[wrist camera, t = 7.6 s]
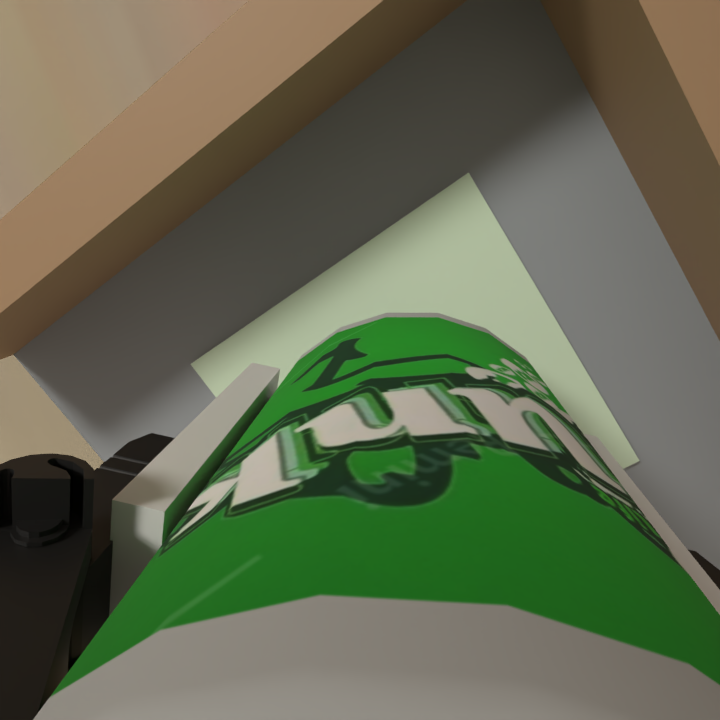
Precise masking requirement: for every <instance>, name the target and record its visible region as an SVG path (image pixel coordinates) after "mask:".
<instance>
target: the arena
mask: <svg viewBox="0 0 720 720" xmlns="http://www.w3.org/2000/svg"><path fill="white" fill-rule="evenodd" d="M467 173H469V174H470V176H471V177H472V179H473V181H474V183H475V184H476V186H477V188H478V189H479V191H480V193H481V194H482V196H483V198H484V199H485V201H486V203H487V204H488V206H489V208H490V210H491V211H492V213H493V215H494V216H495V218H496V220H497V221H498V223H499V225H500V226H501V228H502V230H503V231H504V233H505V235H506V236H507V238H508V240H509V242H510V243H511V245H512V247H513V248H514V250H515V252H516V253H517V255H518V257H519V258H520V260H521V262H522V263H523V265H524V267H525V269H526V270H527V272H528V274H529V275H530V277H531V279H532V280H533V282H534V284H535V285H536V287H537V289H538V290H539V292H540V294H541V295H542V297H543V299H544V301H545V302H546V304H547V306H548V307H549V309H550V311H551V312H552V314H553V316H554V317H555V319H556V321H557V322H558V324H559V326H560V327H561V329H562V331H563V333H564V334H565V336H566V338H567V339H568V341H569V343H570V344H571V346H572V348H573V349H574V351H575V353H576V354H577V356H578V358H579V360H580V361H581V363H582V365H583V366H584V368H585V370H586V371H587V373H588V375H589V376H590V378H591V380H592V381H593V383H594V385H595V386H596V388H597V390H598V392H599V393H600V395H601V397H602V398H603V400H604V402H605V403H606V405H607V407H608V408H609V410H610V412H611V413H612V415H613V417H614V418H615V420H616V422H617V424H618V425H619V427H620V429H621V430H622V432H623V434H624V435H625V437H626V439H627V440H628V442H629V444H630V445H631V447H632V449H633V451H634V452H635V454H636V456H637V457H638V459H639V461H638V462H636V463H634V464H632V465H630V466H628V467H626V468H624V469H623V470H624V471H625V472H626V473H627V475H628V476H629V477H630V478H631V480H632V481H633V482H634V483H635V485H636V486H637V487H638V488H639V490H640V491H641V492H642V493H643V495H644V496H645V497H646V498H647V500H648V501H649V502H650V503H651V505H652V506H653V507H654V508H655V510H656V511H657V512H658V513H659V515H660V516H661V517H662V518H663V520H664V521H665V522H666V523H667V525H668V526H669V527H670V528H671V530H672V531H673V532H674V533H675V535H676V536H677V537H678V538H679V540H680V541H681V542H682V543H683V545H684V546H685V547H686V548H687V549H688V550H692V551H696V552H697V553H699V554H700V555H701V556H702V557H704V558H705V559H706V560H708V561H709V562H710V563H711V564H713V565H714V566H715V567H716V568H718V569H719V570H720V0H249V1H248V2H246V3H245V4H244V5H243V6H242V7H241V8H240V9H239V10H237V11H236V12H235V13H234V14H233V15H232V16H231V17H229V18H228V19H227V20H226V21H225V22H224V23H223V24H222V25H220V26H219V27H218V28H217V29H216V30H215V31H214V32H212V33H211V34H210V35H209V36H208V37H207V38H206V39H205V40H203V41H202V42H201V43H200V44H199V45H198V46H197V47H195V48H194V49H193V50H192V51H191V52H190V53H189V54H188V55H186V56H185V57H184V58H183V59H182V60H181V61H180V62H178V63H177V64H176V65H175V66H174V67H173V68H172V69H171V70H169V71H168V72H167V73H166V74H165V75H164V76H163V77H162V78H160V79H159V80H158V81H157V82H156V83H155V84H154V85H152V86H151V87H150V88H149V89H148V90H147V91H146V92H145V93H143V94H142V95H141V96H140V97H139V98H138V99H137V100H135V101H134V102H133V103H132V104H131V105H130V106H129V107H128V108H126V109H125V110H124V111H123V112H122V113H121V114H120V115H118V116H117V117H116V118H115V119H114V120H113V121H112V122H111V123H109V124H108V125H107V126H106V127H105V128H104V129H103V130H101V131H100V132H99V133H98V134H97V135H96V136H95V137H94V138H92V139H91V140H90V141H89V142H88V143H87V144H86V145H84V146H83V147H82V148H81V149H80V150H79V151H78V152H77V153H75V154H74V155H73V156H72V157H71V158H70V159H69V160H67V161H66V162H65V163H64V164H63V165H62V166H61V167H60V168H58V169H57V170H56V171H55V172H54V173H53V174H52V175H50V176H49V177H48V178H47V179H46V180H45V181H44V182H43V183H41V184H40V185H39V186H38V187H37V188H36V189H35V190H34V191H32V192H31V193H30V194H29V195H28V196H27V197H26V198H24V199H23V200H22V201H21V202H20V203H19V204H18V205H17V206H15V207H14V208H13V209H12V210H11V211H10V212H9V213H7V214H6V215H5V216H4V217H3V218H2V219H1V220H0V359H3V358H5V357H8V356H11V355H14V356H15V357H16V358H17V359H18V361H19V362H20V363H21V364H22V365H23V366H24V368H25V369H26V370H27V371H28V372H29V374H30V375H31V376H32V377H33V378H34V380H35V381H36V382H37V383H38V384H39V385H40V387H41V388H42V389H43V390H44V391H45V393H46V394H47V395H48V396H49V397H50V398H51V400H52V401H53V402H54V403H55V404H56V406H57V407H58V408H59V409H60V410H61V411H62V413H63V414H64V415H65V416H66V417H67V419H68V420H69V421H70V422H71V423H72V425H73V426H74V427H75V428H76V429H77V430H78V432H79V433H80V434H81V435H82V436H83V438H84V439H85V440H86V441H87V442H88V443H89V445H90V446H91V447H92V448H93V449H94V451H95V452H96V453H97V454H98V455H99V457H100V458H101V459H102V460H103V461H104V462H105V461H106V460H108V459H109V458H110V457H113V455H114V454H115V453H116V452H117V451H118V450H120V449H121V448H122V447H123V446H124V445H126V444H127V443H128V442H129V441H132V440H135V439H137V438H140V437H142V436H145V435H147V434H150V433H154V434H159V435H164V436H168V437H173V438H176V437H177V436H178V435H179V434H180V433H181V432H182V431H183V430H184V429H185V428H186V427H187V426H188V425H189V424H190V423H191V422H192V421H193V420H194V419H195V418H196V417H197V416H198V415H199V414H200V413H201V412H202V411H203V410H204V409H205V408H206V407H207V406H208V405H209V404H210V403H211V402H212V401H213V400H214V399H215V398H216V397H215V396H214V394H213V393H212V392H211V390H210V389H209V388H208V386H207V385H206V384H205V383H204V381H203V380H202V379H201V377H200V376H199V375H198V373H197V372H196V371H195V369H194V368H193V367H192V366H191V363H193V362H194V361H196V360H197V359H199V358H200V357H201V356H203V355H204V354H206V353H207V352H209V351H210V350H212V349H213V348H215V347H216V346H217V345H219V344H220V343H222V342H223V341H225V340H226V339H228V338H229V337H230V336H232V335H233V334H235V333H236V332H238V331H239V330H241V329H242V328H244V327H245V326H246V325H248V324H249V323H251V322H252V321H254V320H255V319H257V318H258V317H260V316H261V315H262V314H264V313H265V312H267V311H268V310H270V309H271V308H273V307H274V306H276V305H277V304H278V303H280V302H281V301H283V300H284V299H286V298H287V297H289V296H290V295H291V294H293V293H294V292H296V291H297V290H299V289H300V288H302V287H303V286H305V285H306V284H307V283H309V282H310V281H312V280H313V279H315V278H316V277H318V276H319V275H321V274H322V273H323V272H325V271H326V270H328V269H329V268H331V267H332V266H334V265H335V264H336V263H338V262H339V261H341V260H342V259H344V258H345V257H347V256H348V255H350V254H351V253H352V252H354V251H355V250H357V249H358V248H360V247H361V246H363V245H364V244H366V243H367V242H368V241H370V240H371V239H373V238H374V237H376V236H377V235H379V234H380V233H382V232H383V231H384V230H386V229H387V228H389V227H390V226H392V225H393V224H395V223H396V222H397V221H399V220H400V219H402V218H403V217H405V216H406V215H408V214H409V213H411V212H412V211H413V210H415V209H416V208H418V207H419V206H421V205H422V204H424V203H425V202H427V201H428V200H429V199H431V198H432V197H434V196H435V195H437V194H438V193H440V192H441V191H442V190H444V189H445V188H447V187H448V186H450V185H451V184H453V183H454V182H456V181H457V180H458V179H460V178H461V177H463V176H464V175H466V174H467Z"/></svg>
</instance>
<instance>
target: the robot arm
mask: <svg viewBox="0 0 720 720" xmlns="http://www.w3.org/2000/svg"><path fill="white" fill-rule="evenodd" d="M279 373H280V369H279V368H275V367H270V366H265V365H261V364H256V363H251V364H250V365H249V366H248V367H247V368H246V369H245V370H244V371H243V372H242V373H241V374H240V375H239V376H238V377H237V378H236V379H235V380H234V381H233V382H232V383H231V384H230V385H229V386H228V387H227V388H226V389H225V390H224V391H223V392H222V393H221V394H220V395H218V396H217V397H216V398H215V399H214V400H213V401H212V402H211V403H210V404H209V405H208V406H207V407H206V408H205V409H204V410H203V411H202V412H201V413H200V414H199V415H198V416H197V417H196V418H195V419H194V420H193V421H192V422H191V423H190V424H189V425H188V426H187V427H186V428H185V429H184V430H183V431H182V432H181V433H180V434H179V435H178V436H177V437H176V438H173V437H168V436H164V435H159V434H154V433H150V434H147V435H145V436H142V437H140V438H137V439H135V440H132V441H129V442H128V443H127V444H126V445H124V446H123V447H122V448H121V449H120V450H118V451H117V452H116V453H115V454H114V455H113V457H110V458H109V459H108V460H106V461H105V462H104V463H103V464H102V465H101V466H100V468H97V469H96V470H94V469H93V468H92V467H91V466H90V465H89V464H88V463H87V462H86V461H84V460H81V459H78V458H76V457H73V456H69V455H61V454H38V455H29V456H25V457H20V458H16V459H12V460H9V461H7V462H5V463H3V464H0V720H33V719H34V718H35V716H36V715H37V714H38V712H39V711H40V710H41V708H42V707H43V706H44V704H45V703H46V701H47V700H48V699H49V697H50V696H51V695H52V693H53V692H54V691H55V689H56V688H57V687H58V685H59V684H60V682H61V681H62V680H63V678H64V677H65V676H66V674H67V673H68V672H69V670H70V669H71V668H72V666H73V665H74V663H75V662H76V661H77V659H78V658H79V657H80V655H81V654H82V653H83V651H84V650H85V649H86V647H87V646H88V645H89V643H90V642H91V640H92V639H93V638H94V636H95V635H96V634H97V632H98V631H99V630H100V628H101V627H102V626H103V624H104V623H105V621H106V620H107V619H108V617H109V616H110V615H111V613H112V612H113V611H114V609H115V608H116V607H117V605H118V604H119V602H120V601H121V600H122V598H123V597H124V596H125V594H126V593H127V592H128V590H129V589H130V588H131V586H132V585H133V583H134V582H135V581H136V579H137V578H138V577H139V575H140V574H141V573H142V571H143V570H144V569H145V567H146V566H147V564H148V563H149V562H150V560H151V559H152V558H153V556H154V555H155V554H156V552H157V551H158V550H159V548H160V547H161V546H162V544H163V543H164V541H165V540H166V539H167V537H168V536H169V535H170V533H171V532H172V531H173V529H174V528H175V527H176V525H177V524H178V522H179V521H180V520H181V518H182V517H183V516H184V514H185V513H186V512H187V510H188V509H189V508H190V506H191V505H192V503H193V502H194V501H195V499H196V498H197V497H198V495H199V494H200V493H201V491H202V490H203V489H204V487H205V486H206V484H207V483H208V482H209V480H210V479H211V478H212V476H213V475H214V474H215V472H216V471H217V470H218V468H219V467H220V466H221V464H222V463H223V461H224V460H225V459H226V457H227V456H228V455H229V453H230V452H231V451H232V449H233V448H234V447H235V445H236V444H237V442H238V441H239V440H240V438H241V437H242V436H243V434H244V433H245V432H246V430H247V429H248V428H249V426H250V425H251V423H252V422H253V421H254V419H255V418H256V417H257V415H258V414H259V413H260V411H261V410H262V409H263V407H264V406H265V404H266V403H267V402H268V400H269V399H270V398H271V396H272V395H273V394H274V392H275V391H276V390H277V387H278V380H279ZM584 435H585V437H586V438H587V439H588V441H589V442H590V443H591V445H592V446H593V447H594V449H595V450H596V451H597V453H598V454H599V455H600V457H601V458H602V459H603V461H604V462H605V463H606V465H607V466H608V467H609V469H610V470H611V471H612V473H613V474H614V475H615V477H616V478H617V479H618V481H619V482H620V483H621V485H622V486H623V487H624V488H625V490H626V491H627V492H628V494H629V495H630V496H631V498H632V499H633V500H634V502H635V503H636V504H637V506H638V507H639V508H640V510H641V511H642V512H643V514H644V515H645V516H646V518H647V519H648V520H649V522H650V523H651V524H652V526H653V527H654V528H655V530H656V531H657V532H658V534H659V535H660V536H661V538H662V539H663V540H664V542H665V543H666V544H667V546H668V547H669V548H670V550H671V551H672V552H673V554H674V555H675V556H676V557H677V559H678V560H679V561H680V563H681V564H682V565H683V567H684V568H685V569H686V571H687V572H688V573H689V575H690V576H691V577H692V579H693V580H694V581H695V583H696V584H697V585H698V587H699V588H700V589H701V591H702V592H703V593H704V595H705V596H706V597H707V599H708V600H709V601H710V603H711V604H712V605H713V607H714V608H715V609H716V611H717V612H718V613H719V615H720V570H719V569H718V568H716V567H715V566H714V565H713V564H711V563H710V562H709V561H708V560H706V559H705V558H704V557H702V556H701V555H700V554H699V553H697V552H696V551H692V550H688V549H687V548H686V547H685V546H684V545H683V543H682V542H681V541H680V540H679V538H678V537H677V536H676V535H675V533H674V532H673V531H672V530H671V528H670V527H669V526H668V525H667V523H666V522H665V521H664V520H663V518H662V517H661V516H660V515H659V513H658V512H657V511H656V510H655V508H654V507H653V506H652V505H651V503H650V502H649V501H648V500H647V498H646V497H645V496H644V495H643V493H642V492H641V491H640V490H639V488H638V487H637V486H636V485H635V483H634V482H633V481H632V480H631V478H630V477H629V476H628V475H627V473H626V472H625V471H624V470H623V468H622V467H621V466H620V465H619V463H618V462H617V461H616V460H615V458H614V457H613V456H612V455H611V453H610V452H609V451H608V450H607V448H606V447H605V446H604V445H603V443H602V442H601V441H600V440H599V438H598V437H597V436H592V435H588V434H584Z"/></svg>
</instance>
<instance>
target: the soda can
mask: <svg viewBox="0 0 720 720" xmlns="http://www.w3.org/2000/svg"><path fill="white" fill-rule="evenodd" d="M33 720H720V615H719V613H718V612H717V611H716V609H715V608H714V607H713V605H712V604H711V603H710V601H709V600H708V599H707V597H706V596H705V595H704V593H703V592H702V591H701V589H700V588H699V587H698V585H697V584H696V583H695V581H694V580H693V579H692V577H691V576H690V575H689V573H688V572H687V571H686V569H685V568H684V567H683V565H682V564H681V563H680V561H679V560H678V559H677V557H676V556H675V555H674V554H673V552H672V551H671V550H670V548H669V547H668V546H667V544H666V543H665V542H664V540H663V539H662V538H661V536H660V535H659V534H658V532H657V531H656V530H655V528H654V527H653V526H652V524H651V523H650V522H649V520H648V519H647V518H646V516H645V515H644V514H643V512H642V511H641V510H640V508H639V507H638V506H637V504H636V503H635V502H634V500H633V499H632V498H631V496H630V495H629V494H628V492H627V491H626V490H625V488H624V487H623V486H622V485H621V483H620V482H619V481H618V479H617V478H616V477H615V475H614V474H613V473H612V471H611V470H610V469H609V467H608V466H607V465H606V463H605V462H604V461H603V459H602V458H601V457H600V455H599V454H598V453H597V451H596V450H595V449H594V447H593V446H592V445H591V443H590V442H589V441H588V439H587V438H586V437H585V435H584V434H583V433H582V431H581V430H580V429H579V427H578V426H577V425H576V423H575V422H574V421H573V419H572V418H571V417H570V415H569V414H568V413H567V412H566V410H565V409H564V408H563V406H562V405H561V404H560V402H559V401H558V400H557V398H556V397H555V396H554V394H553V393H552V392H551V390H550V389H549V388H548V386H547V385H546V384H545V382H544V381H543V380H542V378H541V377H540V376H539V374H538V373H537V372H536V370H535V369H534V368H533V366H532V365H531V364H530V362H529V361H528V360H527V358H526V357H525V356H523V355H522V354H520V353H519V352H518V351H516V350H515V349H514V348H512V347H511V346H509V345H508V344H507V343H505V342H504V341H503V340H501V339H500V338H498V337H497V336H496V335H494V334H493V333H492V332H490V331H489V330H487V329H486V328H483V327H480V326H477V325H474V324H471V323H468V322H465V321H462V320H458V319H455V318H452V317H449V316H446V315H443V314H440V313H384V314H381V315H378V316H375V317H371V318H368V319H365V320H362V321H359V322H356V323H353V324H350V325H346V326H343V327H340V328H339V329H337V330H336V331H334V332H333V333H332V334H330V335H329V336H328V337H326V338H325V339H323V340H322V341H321V342H319V343H318V344H317V345H315V346H314V347H312V348H311V349H310V350H308V351H307V352H306V353H304V354H303V355H302V356H301V357H300V358H299V360H298V361H297V362H296V364H295V365H294V367H293V368H292V369H291V371H290V372H289V373H288V375H287V376H286V377H285V379H284V380H283V381H282V383H281V384H280V386H279V387H278V388H277V390H276V391H275V392H274V394H273V395H272V396H271V398H270V399H269V400H268V402H267V403H266V404H265V406H264V407H263V409H262V410H261V411H260V413H259V414H258V415H257V417H256V418H255V419H254V421H253V422H252V423H251V425H250V426H249V428H248V429H247V430H246V432H245V433H244V434H243V436H242V437H241V438H240V440H239V441H238V442H237V444H236V445H235V447H234V448H233V449H232V451H231V452H230V453H229V455H228V456H227V457H226V459H225V460H224V461H223V463H222V464H221V466H220V467H219V468H218V470H217V471H216V472H215V474H214V475H213V476H212V478H211V479H210V480H209V482H208V483H207V484H206V486H205V487H204V489H203V490H202V491H201V493H200V494H199V495H198V497H197V498H196V499H195V501H194V502H193V503H192V505H191V506H190V508H189V509H188V510H187V512H186V513H185V514H184V516H183V517H182V518H181V520H180V521H179V522H178V524H177V525H176V527H175V528H174V529H173V531H172V532H171V533H170V535H169V536H168V537H167V539H166V540H165V541H164V543H163V544H162V546H161V547H160V548H159V550H158V551H157V552H156V554H155V555H154V556H153V558H152V559H151V560H150V562H149V563H148V564H147V566H146V567H145V569H144V570H143V571H142V573H141V574H140V575H139V577H138V578H137V579H136V581H135V582H134V583H133V585H132V586H131V588H130V589H129V590H128V592H127V593H126V594H125V596H124V597H123V598H122V600H121V601H120V602H119V604H118V605H117V607H116V608H115V609H114V611H113V612H112V613H111V615H110V616H109V617H108V619H107V620H106V621H105V623H104V624H103V626H102V627H101V628H100V630H99V631H98V632H97V634H96V635H95V636H94V638H93V639H92V640H91V642H90V643H89V645H88V646H87V647H86V649H85V650H84V651H83V653H82V654H81V655H80V657H79V658H78V659H77V661H76V662H75V663H74V665H73V666H72V668H71V669H70V670H69V672H68V673H67V674H66V676H65V677H64V678H63V680H62V681H61V682H60V684H59V685H58V687H57V688H56V689H55V691H54V692H53V693H52V695H51V696H50V697H49V699H48V700H47V701H46V703H45V704H44V706H43V707H42V708H41V710H40V711H39V712H38V714H37V715H36V716H35V718H34V719H33Z"/></svg>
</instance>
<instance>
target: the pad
mask: <svg viewBox="0 0 720 720" xmlns="http://www.w3.org/2000/svg"><path fill="white" fill-rule="evenodd" d="M384 313H440V314H443V315H446V316H449V317H452V318H455V319H458V320H462V321H465V322H468V323H471V324H474V325H477V326H480V327H483V328H486V329H487V330H489V331H490V332H492V333H493V334H494V335H496V336H497V337H498V338H500V339H501V340H503V341H504V342H505V343H507V344H508V345H509V346H511V347H512V348H514V349H515V350H516V351H518V352H519V353H520V354H522V355H523V356H525V357H526V358H527V360H528V361H529V362H530V364H531V365H532V366H533V368H534V369H535V370H536V372H537V373H538V374H539V376H540V377H541V378H542V380H543V381H544V382H545V384H546V385H547V386H548V388H549V389H550V390H551V392H552V393H553V394H554V396H555V397H556V398H557V400H558V401H559V402H560V404H561V405H562V406H563V408H564V409H565V410H566V412H567V413H568V414H569V415H570V417H571V418H572V419H573V421H574V422H575V423H576V425H577V426H578V427H579V429H580V430H581V431H582V433H583V434H588V435H592V436H597V437H598V438H599V440H600V441H601V442H602V443H603V445H604V446H605V447H606V448H607V450H608V451H609V452H610V453H611V455H612V456H613V457H614V458H615V460H616V461H617V462H618V463H619V465H620V466H621V467H622V468H623V469H624V468H626V467H628V466H630V465H632V464H634V463H636V462H638V461H639V459H638V457H637V456H636V454H635V452H634V451H633V449H632V447H631V445H630V444H629V442H628V440H627V439H626V437H625V435H624V434H623V432H622V430H621V429H620V427H619V425H618V424H617V422H616V420H615V418H614V417H613V415H612V413H611V412H610V410H609V408H608V407H607V405H606V403H605V402H604V400H603V398H602V397H601V395H600V393H599V392H598V390H597V388H596V386H595V385H594V383H593V381H592V380H591V378H590V376H589V375H588V373H587V371H586V370H585V368H584V366H583V365H582V363H581V361H580V360H579V358H578V356H577V354H576V353H575V351H574V349H573V348H572V346H571V344H570V343H569V341H568V339H567V338H566V336H565V334H564V333H563V331H562V329H561V327H560V326H559V324H558V322H557V321H556V319H555V317H554V316H553V314H552V312H551V311H550V309H549V307H548V306H547V304H546V302H545V301H544V299H543V297H542V295H541V294H540V292H539V290H538V289H537V287H536V285H535V284H534V282H533V280H532V279H531V277H530V275H529V274H528V272H527V270H526V269H525V267H524V265H523V263H522V262H521V260H520V258H519V257H518V255H517V253H516V252H515V250H514V248H513V247H512V245H511V243H510V242H509V240H508V238H507V236H506V235H505V233H504V231H503V230H502V228H501V226H500V225H499V223H498V221H497V220H496V218H495V216H494V215H493V213H492V211H491V210H490V208H489V206H488V204H487V203H486V201H485V199H484V198H483V196H482V194H481V193H480V191H479V189H478V188H477V186H476V184H475V183H474V181H473V179H472V177H471V176H470V174H469V173H467V174H466V175H464V176H463V177H461V178H460V179H458V180H457V181H456V182H454V183H453V184H451V185H450V186H448V187H447V188H445V189H444V190H442V191H441V192H440V193H438V194H437V195H435V196H434V197H432V198H431V199H429V200H428V201H427V202H425V203H424V204H422V205H421V206H419V207H418V208H416V209H415V210H413V211H412V212H411V213H409V214H408V215H406V216H405V217H403V218H402V219H400V220H399V221H397V222H396V223H395V224H393V225H392V226H390V227H389V228H387V229H386V230H384V231H383V232H382V233H380V234H379V235H377V236H376V237H374V238H373V239H371V240H370V241H368V242H367V243H366V244H364V245H363V246H361V247H360V248H358V249H357V250H355V251H354V252H352V253H351V254H350V255H348V256H347V257H345V258H344V259H342V260H341V261H339V262H338V263H336V264H335V265H334V266H332V267H331V268H329V269H328V270H326V271H325V272H323V273H322V274H321V275H319V276H318V277H316V278H315V279H313V280H312V281H310V282H309V283H307V284H306V285H305V286H303V287H302V288H300V289H299V290H297V291H296V292H294V293H293V294H291V295H290V296H289V297H287V298H286V299H284V300H283V301H281V302H280V303H278V304H277V305H276V306H274V307H273V308H271V309H270V310H268V311H267V312H265V313H264V314H262V315H261V316H260V317H258V318H257V319H255V320H254V321H252V322H251V323H249V324H248V325H246V326H245V327H244V328H242V329H241V330H239V331H238V332H236V333H235V334H233V335H232V336H230V337H229V338H228V339H226V340H225V341H223V342H222V343H220V344H219V345H217V346H216V347H215V348H213V349H212V350H210V351H209V352H207V353H206V354H204V355H203V356H201V357H200V358H199V359H197V360H196V361H194V362H193V363H191V366H192V367H193V368H194V369H195V371H196V372H197V373H198V375H199V376H200V377H201V379H202V380H203V381H204V383H205V384H206V385H207V386H208V388H209V389H210V390H211V392H212V393H213V394H214V396H215V397H217V396H218V395H220V394H221V393H222V392H223V391H224V390H225V389H226V388H227V387H228V386H229V385H230V384H231V383H232V382H233V381H234V380H235V379H236V378H237V377H238V376H239V375H240V374H241V373H242V372H243V371H244V370H245V369H246V368H247V367H248V366H249V365H250V364H251V363H256V364H261V365H265V366H270V367H275V368H279V369H280V373H279V380H278V387H279V386H280V384H281V383H282V381H283V380H284V379H285V377H286V376H287V375H288V373H289V372H290V371H291V369H292V368H293V367H294V365H295V364H296V362H297V361H298V360H299V358H300V357H301V356H302V355H303V354H304V353H306V352H307V351H308V350H310V349H311V348H312V347H314V346H315V345H317V344H318V343H319V342H321V341H322V340H323V339H325V338H326V337H328V336H329V335H330V334H332V333H333V332H334V331H336V330H337V329H339V328H340V327H343V326H346V325H350V324H353V323H356V322H359V321H362V320H365V319H368V318H371V317H375V316H378V315H381V314H384ZM278 387H277V388H278Z"/></svg>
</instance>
